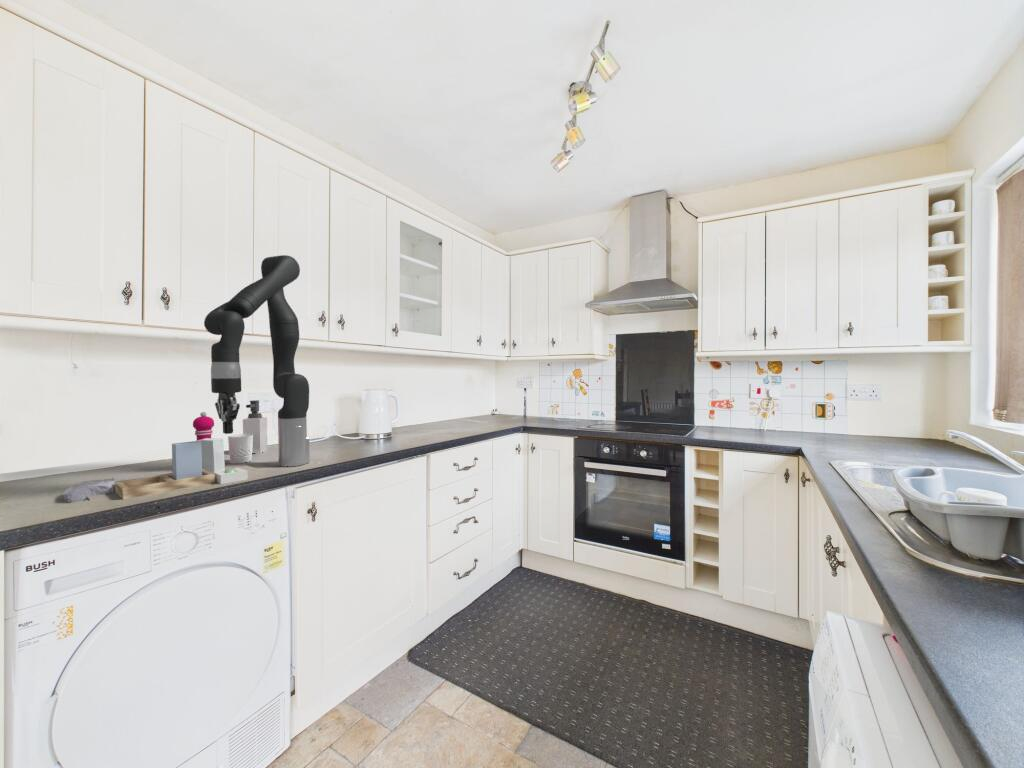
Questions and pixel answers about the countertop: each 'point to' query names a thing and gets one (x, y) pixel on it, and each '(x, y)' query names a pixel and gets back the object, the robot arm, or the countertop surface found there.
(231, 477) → the button box
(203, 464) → the skincare box
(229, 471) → the button
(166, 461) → the countertop surface
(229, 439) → the white cup
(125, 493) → the pallet
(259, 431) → the soap dispenser
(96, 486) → the stone block
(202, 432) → the pepper mill
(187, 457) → the seated block
